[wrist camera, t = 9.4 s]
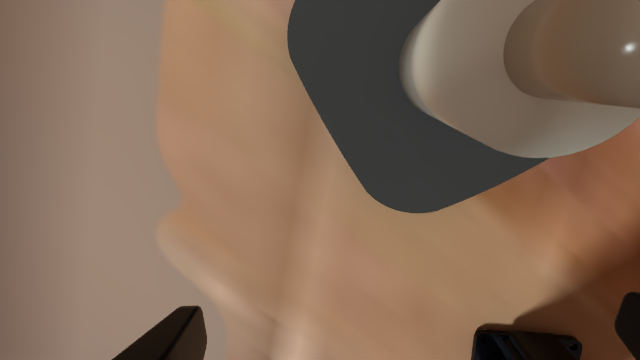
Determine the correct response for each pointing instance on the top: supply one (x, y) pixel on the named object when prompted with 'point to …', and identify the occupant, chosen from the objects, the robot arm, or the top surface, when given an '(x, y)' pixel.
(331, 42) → the media streaming box
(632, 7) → the bottle
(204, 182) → the top surface
